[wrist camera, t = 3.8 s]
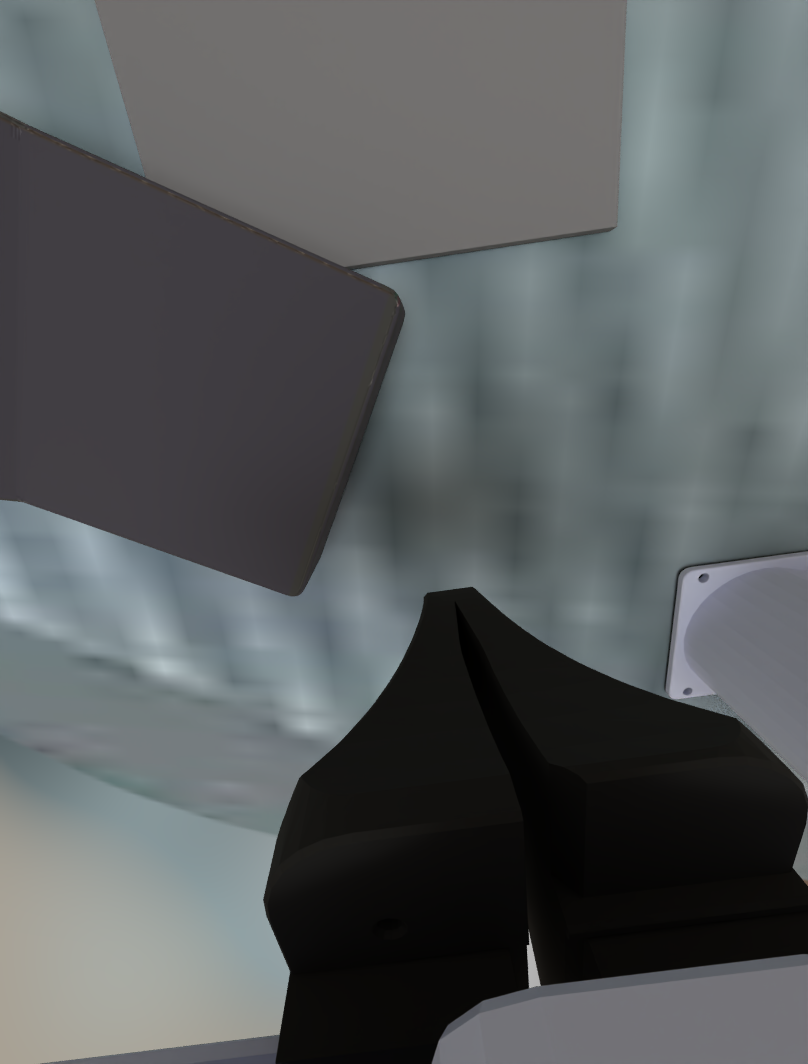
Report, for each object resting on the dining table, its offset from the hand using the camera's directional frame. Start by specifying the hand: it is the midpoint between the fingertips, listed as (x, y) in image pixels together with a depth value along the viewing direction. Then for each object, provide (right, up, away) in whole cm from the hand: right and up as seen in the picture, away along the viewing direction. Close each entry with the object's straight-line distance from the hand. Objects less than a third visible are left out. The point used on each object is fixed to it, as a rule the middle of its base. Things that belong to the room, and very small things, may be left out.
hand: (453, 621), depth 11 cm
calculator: (-3, +5, +4) cm, 7 cm away
